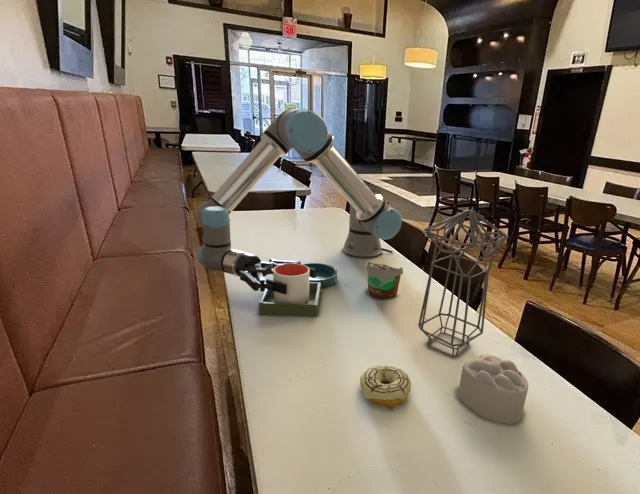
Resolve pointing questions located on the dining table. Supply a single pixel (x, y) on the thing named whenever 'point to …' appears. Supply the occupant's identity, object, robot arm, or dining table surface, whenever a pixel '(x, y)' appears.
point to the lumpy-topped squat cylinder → (493, 388)
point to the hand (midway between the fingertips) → (301, 281)
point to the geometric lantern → (459, 220)
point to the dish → (323, 273)
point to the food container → (382, 280)
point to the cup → (292, 283)
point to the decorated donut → (385, 385)
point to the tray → (293, 309)
